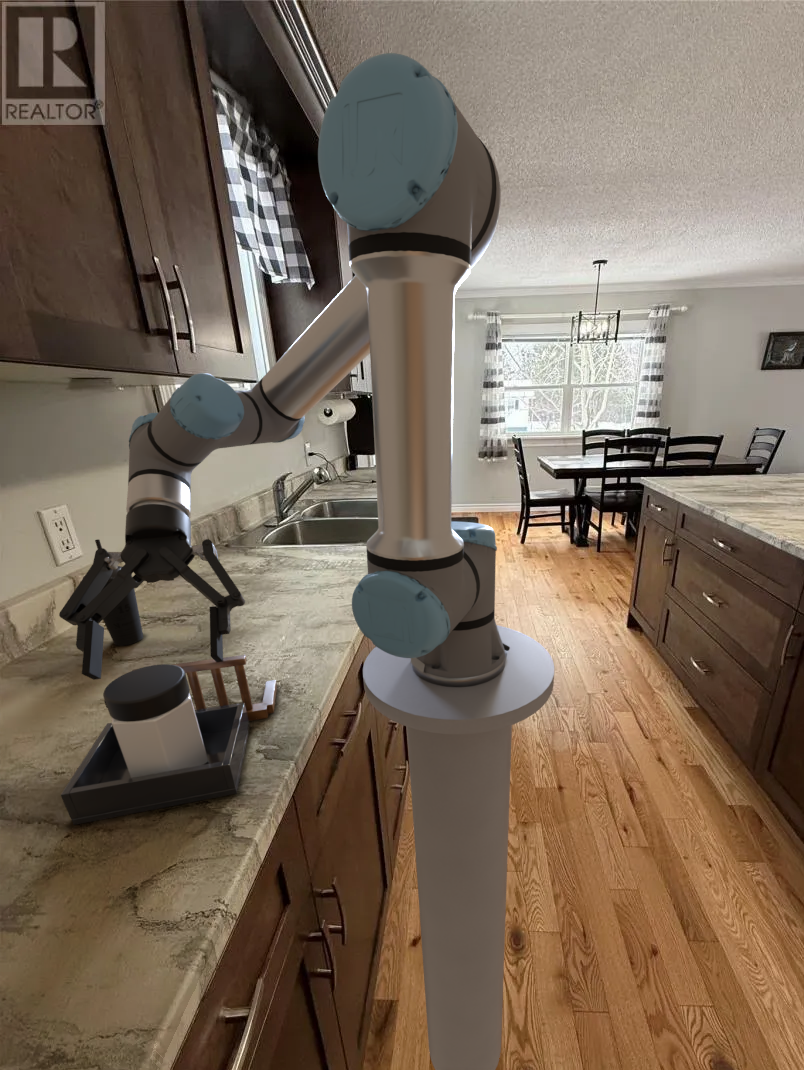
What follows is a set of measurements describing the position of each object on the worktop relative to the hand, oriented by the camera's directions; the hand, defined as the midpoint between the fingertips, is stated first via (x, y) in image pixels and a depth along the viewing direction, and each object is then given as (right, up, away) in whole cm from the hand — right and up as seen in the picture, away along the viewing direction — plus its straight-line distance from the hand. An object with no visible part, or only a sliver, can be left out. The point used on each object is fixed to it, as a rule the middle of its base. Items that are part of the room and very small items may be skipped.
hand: (155, 667), depth 57 cm
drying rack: (0, -8, +13) cm, 16 cm away
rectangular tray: (+1, -13, +2) cm, 13 cm away
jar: (+1, -12, +2) cm, 13 cm away
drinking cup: (-27, 0, +36) cm, 45 cm away
